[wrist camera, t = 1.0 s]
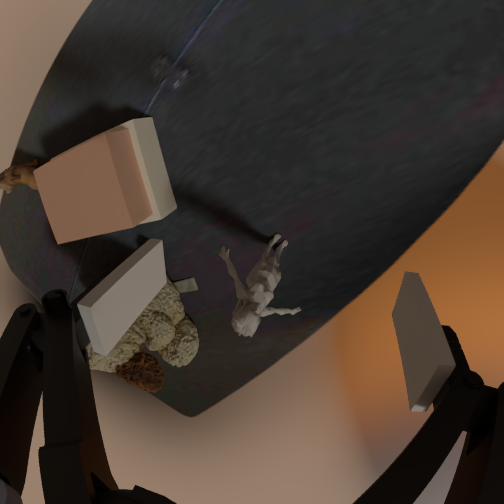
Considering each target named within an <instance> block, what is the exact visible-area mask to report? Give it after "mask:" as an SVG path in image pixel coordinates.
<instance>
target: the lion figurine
mask: <svg viewBox="0 0 504 504" xmlns="http://www.w3.org/2000/svg"><path fill="white" fill-rule="evenodd" d="M37 163H38V162H37V159H34V161H33V162H27V163H25V164H15V165H12V166H11V167H9V168H8V169H6V170H5V171H4V172H2V173H1V174H0V189H3V190H5V192H6V193H7V194H9V193H10V192H11V191H12V189H13V187H14V186H17V185H20V184H21V183H23V184H28V185H29V186H30V187H31V188H32V189H35V190H38V186H37V183H36V180H35V176H34V173H33V171H34V170H36V169H34V168H31V166H36V165H37Z"/></svg>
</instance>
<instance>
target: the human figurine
mask: <svg viewBox="0 0 504 504" xmlns="http://www.w3.org/2000/svg"><path fill="white" fill-rule="evenodd" d="M279 235H280V234H277V235H275V236H274V238H273V239H271V240H270V241H269V243H268V247H267V248H266V249H265V251H264V253H263V255H262V259H261V260H259V261H258V263H257V264H256V265H255V266H254V268H253V269H252V270H251V272H250V273H249V275H248V276H247V278H246V282H247V284H248V286H249V288H248V289H247V291H246V288H245V287H244V286H243V285H242V283H241V281H240V280H239V279H238V276H237V273H236V270H235V269H234V266H233V264H232V263H231V261H230V260H229V259H228V256H229V249H228V251H227V252H226V250H225V246H223V248H224V251H223V248H222V247H221V249H222V252H223V253H222V252H221V251H220V253H221V254H219V255H220V256H221V257H222V259H224V260H225V261H226V264H227V267H228V272H229V274H230V275H231V276H232V277H233V278H234V280H235V287H236V291H237V295H236V296H237V297H238V298H239V301H238V303H237V306H236V307H235V309H234V311H233V318H232V326H233V328H234V330H235V331H237V332H238V335H239V336H240V335H241V334H242V335H243V336H248V335H249V336H250V337H252V335H253V334H254V332H255V331H256V329H257V327H258V325H259V323H260V321H261V319H260V316H262V317H264V316H267V315H270V314H273V313H275V312H276V313H278V314H280V315H283V314H285V313H290V314H291V315H294V314H296V312H300V311H299V310H301V309H299V307H298V308H296V309H293V310H290V309H284V308H279V309H275V308H271V307H266V305H267V304H268V303H269V302H270V300H271V299H273V290H274V288H275V287H276V286H277V284H278V282H279V280H280V279H281V272H280V270H279V267H278V266H279V258H280V253H282V252H281V251H282V249H283V248H284V247H285V246H287V245H288V241H286V240H284V241H283V242H282V243H281V244H280V245H279V247H277V249H276V252H275V253H276V254H275V255H274V257H271V258H268V257H269V253H270V250H271V247H272V246H273V245H274V243H275V242H276V241H277V240H278V239H279V238H280V237H281V235H280V236H279Z"/></svg>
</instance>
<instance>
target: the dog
mask: <svg viewBox="0 0 504 504" xmlns="http://www.w3.org/2000/svg"><path fill="white" fill-rule="evenodd" d="M166 280H167V283H166V284H165V285H164V286H163V287H162V289H161V290H160V291H159V292H158V293H157V295H156V296H155V297H154V298H153V299H152V301H151V302H150V303H149V304H148V305H147V307H146V308H145V309H144V310H143V311H142V313H141V314H140V315H139V316H138V318H137V319H136V320H135V321H134V323H133V324H132V325H131V326H130V327H129V329H128V330H127V331H126V332H125V334H124V335H123V336H122V337H121V339H120V340H119V341H118V342H117V344H116V345H115V346H114V348H113V349H112V350H111V351H110V353H109V354H108V355H107V356H104V355H102V354H99V353H96V352H94V350H93V348H92V345H91V343H89V344H88V346H87V347H86V349H87V351H88V356H89V365H90V369H93V370H94V369H97V370H101V371H107V372H117V376H118V377H120V378H121V380H123V381H124V380H125V381H127V383H129V384H132V385H136V386H137V387H138V388H141V389H144V390H145V391H148V392H150V391H151V392H156V391H158V390H160V389H161V388H163V387H162V385H163V382H164V380H163V378H164V375H163V371H162V368H160V366H159V363H158V361H157V359H156V358H154V357H153V356H151V355H150V354H147V353H145V352H144V349H145V346H147V348H148V349H149V350H150V351H151V350H152V351H154V350H155V351H156V350H158V352H159V354H160V355H161V356H162V359H163V360H165V361H167V362H168V363H169V364H171V365H175V364H176V365H177V367H181V366H182V365H184V366H185V365H187V363H188V364H189V362H190V361H191V360H192V359H193V358H194V356H195V354H196V353H197V349H198V346H199V342H198V341H199V339H198V333H197V329H196V327H195V326H194V324H192V322H191V321H190V319H188V317H187V316H186V315H185V313H184V311H183V309H184V307H183V306H184V305H183V304H182V302H181V301H180V297H179V293H181V292H189V291H195V290H198V287H197V284H196V282H195V279H194V277H192V278H189V279H186V280H182V281H177V282H173V283H172V282H171V281H170V280H169V278H168V276H167V275H166Z"/></svg>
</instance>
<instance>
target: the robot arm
mask: <svg viewBox="0 0 504 504" xmlns="http://www.w3.org/2000/svg"><path fill="white" fill-rule="evenodd" d="M166 283H167V280H166V271H165V263H164V254H163V244H162V240H157V239H149V240H148V241H147V242H146V243H145V244H143V245H142V246H141V247H140V248H139V249H138V250H136V251H135V252H134V253H133V254H132V255H131V256H129V257H128V258H127V259H126V260H125V261H124V262H122V263H121V264H120V265H119V266H118V267H117V268H116V269H114V270H113V271H112V272H111V273H110V274H109V275H108V276H107V277H105V276H104V277H102V278H100V279H98V280H96V281H95V282H94V283H92V284H91V285H90V287H88V288H87V289H86V290H85V292H82V293H81V294H80V295H79V296H78V297H77V298H76V299H75V300H74V301H73V302H72V303H70V302H69V298H68V295H67V292H66V291H65V290H62V289H56V290H52V291H49V292H48V293H46V294H45V295H44V296H43V297H42V299H41V302H42V304H43V307H44V310H45V312H46V313H38V311H37V308H36V306H35V305H34V304H31V303H28V304H23V305H21V306H20V307H19V308H17V309H16V310H15V311H14V313H13V315H12V317H11V319H10V321H9V323H8V325H7V327H6V328H5V330H4V332H3V335H2V336H1V338H0V504H23V503H22V499H21V495H22V491H23V488H24V484H25V479H26V473H27V466H28V459H29V452H30V446H31V441H32V435H33V430H34V425H35V420H36V416H37V411H38V407H39V403H40V398H41V394H42V391H43V422H44V437H45V445H44V446H43V447H40V448H39V452H38V454H39V455H38V456H39V466H40V474H41V480H42V488H43V493H44V499H45V504H176V503H175V502H173V501H171V500H170V499H168V498H167V497H165V496H163V495H160V494H157V493H155V492H152V491H149V490H146V489H144V488H142V487H139V486H137V485H135V486H134V488H133V490H126V489H119V488H118V486H117V484H116V482H115V480H114V478H113V476H112V474H111V471H110V467H109V464H108V460H107V456H106V452H105V448H104V445H103V440H102V435H101V431H100V426H99V422H98V416H97V411H96V405H95V399H94V393H93V387H92V380H91V374H90V365H89V356H88V351H87V349H86V347H87V346H88V344H89V343H91V345H92V348H93V350H94V352H96V353H99V354H102V355H104V356H107V355H108V354H109V353H110V351H111V350H112V349H113V348H114V346H115V345H116V344H117V342H118V341H119V340H120V339H121V337H122V336H123V335H124V334H125V332H126V331H127V330H128V329H129V327H130V326H131V325H132V324H133V323H134V321H135V320H136V319H137V318H138V316H139V315H140V314H141V313H142V311H143V310H144V309H145V308H146V307H147V305H148V304H149V303H150V302H151V301H152V299H153V298H154V297H155V296H156V295H157V293H158V292H159V291H160V290H161V289H162V287H163V286H164V285H165V284H166ZM392 318H393V322H394V326H395V330H396V335H397V339H398V344H399V349H400V354H401V359H402V364H403V370H404V375H405V381H406V386H407V393H408V398H409V406H410V411H427V410H428V408H429V406H430V405H431V404H432V402H433V407H434V411H433V413H432V414H431V415H430V417H429V418H428V419H427V421H426V422H425V423H424V424H423V426H422V427H421V429H420V430H419V431H418V433H417V434H416V435H415V436H414V438H413V439H412V441H411V442H410V443H409V444H408V445H407V446H406V448H405V449H404V450H403V451H402V453H401V454H400V455H399V456H398V457H397V458H396V460H395V461H394V462H393V463H392V464H391V465H390V466H389V467H388V468H387V470H386V471H385V472H384V473H383V474H382V475H381V476H380V477H379V478H378V479H377V480H376V481H375V482H374V483H373V484H372V485H371V486H370V487H369V488H368V489H367V490H366V491H365V492H364V493H363V494H362V495H361V496H360V497H359V498H358V499H357V500H356V501H355V502H354V503H353V504H413V503H414V502H415V500H416V499H417V498H418V496H419V495H420V494H421V493H422V491H423V490H424V488H425V487H426V486H427V485H428V483H429V482H430V481H431V479H432V478H433V476H434V475H435V474H436V472H437V471H438V469H439V468H440V466H441V465H442V463H443V462H444V460H445V458H446V457H447V456H448V454H449V452H450V451H451V449H452V448H453V446H454V444H455V443H456V441H457V439H458V438H459V436H460V434H461V433H462V431H466V432H467V435H466V439H465V442H464V446H463V450H462V453H461V457H460V460H459V463H458V466H457V469H456V473H455V475H454V478H453V482H452V484H451V487H450V490H449V492H448V495H447V497H446V500H445V502H444V504H504V382H503V383H502V384H501V385H500V386H499V387H498V389H497V388H493V387H490V386H486V385H484V382H483V380H482V378H481V377H480V376H479V375H478V374H477V373H476V372H473V371H471V370H470V368H469V366H468V363H467V360H466V358H465V355H464V352H463V350H462V349H461V345H460V343H459V340H458V338H457V335H456V333H455V332H454V331H453V330H452V329H451V327H450V326H444V325H441V324H440V321H439V319H438V317H437V314H436V312H435V309H434V307H433V305H432V302H431V300H430V298H429V295H428V293H427V291H426V289H425V287H424V285H423V282H422V280H421V278H420V276H419V274H418V273H413V272H405V274H404V277H403V281H402V284H401V288H400V291H399V294H398V297H397V300H396V303H395V307H394V309H393V312H392Z"/></svg>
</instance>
